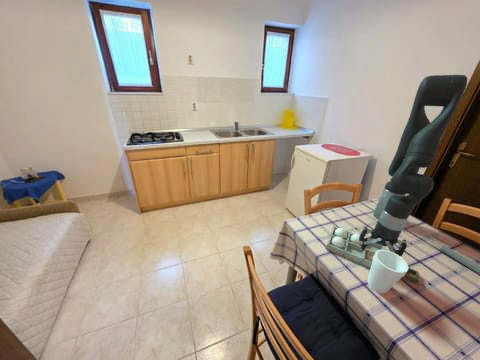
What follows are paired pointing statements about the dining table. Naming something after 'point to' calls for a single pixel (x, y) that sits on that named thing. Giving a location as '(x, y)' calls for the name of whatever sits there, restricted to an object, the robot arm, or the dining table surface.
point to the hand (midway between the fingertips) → (375, 254)
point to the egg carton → (353, 249)
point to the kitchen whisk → (452, 253)
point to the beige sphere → (370, 255)
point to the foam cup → (386, 270)
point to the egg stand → (412, 276)
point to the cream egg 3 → (356, 239)
